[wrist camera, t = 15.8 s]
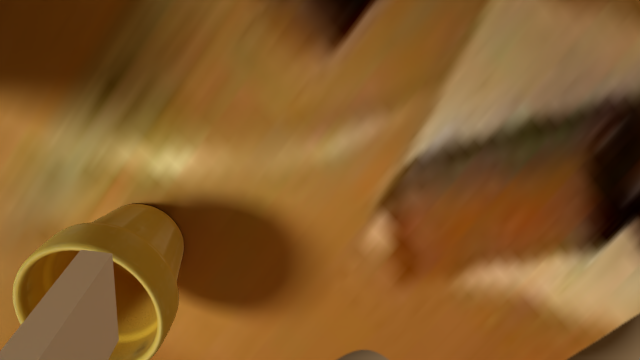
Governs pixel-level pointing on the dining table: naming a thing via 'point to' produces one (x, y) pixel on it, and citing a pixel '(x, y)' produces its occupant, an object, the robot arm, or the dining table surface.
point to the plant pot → (117, 273)
